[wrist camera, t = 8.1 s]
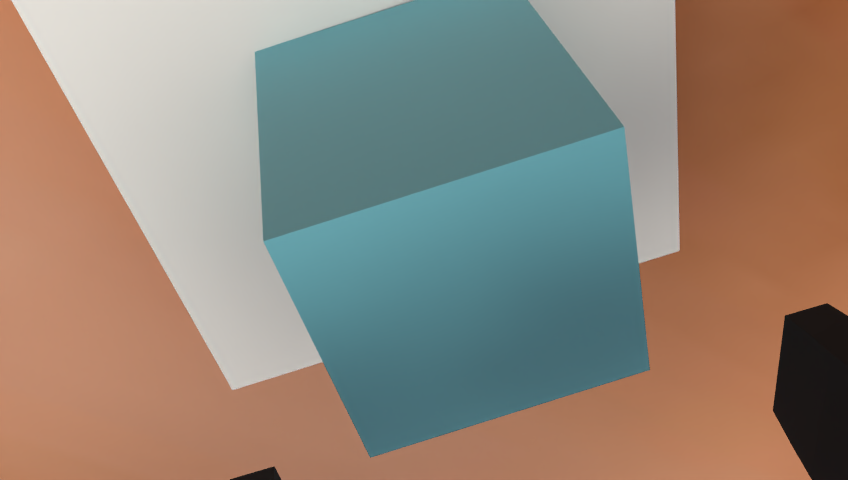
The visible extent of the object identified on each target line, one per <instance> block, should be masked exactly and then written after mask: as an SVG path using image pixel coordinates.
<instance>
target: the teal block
mask: <svg viewBox="0 0 848 480" xmlns="http://www.w3.org/2000/svg"><path fill="white" fill-rule="evenodd" d="M255 68H256V91H257V113H258V135H259V158H260V180H261V203H262V225H263V242H264V244H265V246H266V248H267V250H268V252H269V254H270V256H271V258H272V260H273V262H274V264H275V266H276V268H277V270H278V272H279V274H280V276H281V278H282V280H283V282H284V284H285V286H286V288H287V290H288V292H289V294H290V297H291V299H292V301H293V303H294V305H295V307H296V309H297V311H298V313H299V315H300V317H301V319H302V321H303V323H304V325H305V327H306V329H307V331H308V333H309V335H310V337H311V339H312V341H313V343H314V345H315V347H316V349H317V351H318V353H319V355H320V357H321V359H322V361H323V363H324V365H325V367H326V369H327V371H328V373H329V375H330V377H331V379H332V381H333V383H334V385H335V387H336V389H337V391H338V393H339V396H340V398H341V400H342V402H343V404H344V406H345V408H346V410H347V412H348V414H349V416H350V418H351V420H352V422H353V424H354V426H355V428H356V430H357V432H358V434H359V436H360V438H361V440H362V442H363V444H364V446H365V448H366V450H367V452H368V454H369V456H370V458H371V457H374V456H377V455H380V454H383V453H387V452H390V451H393V450H396V449H399V448H402V447H406V446H409V445H412V444H415V443H418V442H422V441H425V440H428V439H431V438H434V437H438V436H441V435H444V434H447V433H450V432H453V431H457V430H460V429H463V428H466V427H469V426H473V425H476V424H479V423H482V422H485V421H488V420H492V419H495V418H498V417H501V416H504V415H508V414H511V413H514V412H517V411H520V410H523V409H527V408H530V407H533V406H536V405H539V404H543V403H546V402H549V401H552V400H555V399H558V398H562V397H565V396H568V395H571V394H574V393H578V392H581V391H584V390H587V389H590V388H593V387H597V386H600V385H603V384H606V383H609V382H613V381H616V380H619V379H622V378H625V377H629V376H632V375H635V374H638V373H641V372H644V371H648V370H650V367H649V358H648V348H647V339H646V329H645V320H644V310H643V300H642V291H641V281H640V272H639V262H638V253H637V243H636V234H635V224H634V214H633V205H632V195H631V186H630V176H629V167H628V157H627V148H626V138H625V128H624V126H623V124H622V123H621V122H620V120H619V119H618V118H617V116H616V115H615V114H614V113H613V111H612V110H611V109H610V107H609V106H608V105H607V103H606V102H605V101H604V99H603V98H602V97H601V95H600V94H599V93H598V92H597V90H596V89H595V88H594V86H593V85H592V84H591V82H590V81H589V80H588V78H587V77H586V76H585V74H584V73H583V72H582V71H581V69H580V68H579V67H578V65H577V64H576V63H575V61H574V60H573V59H572V57H571V56H570V55H569V53H568V52H567V51H566V50H565V48H564V47H563V46H562V44H561V43H560V42H559V40H558V39H557V38H556V36H555V35H554V34H553V32H552V31H551V30H550V29H549V27H548V26H547V25H546V23H545V22H544V21H543V19H542V18H541V17H540V15H539V14H538V13H537V11H536V10H535V9H534V8H533V6H532V5H531V4H530V2H529V1H528V0H414V1H411V2H408V3H405V4H402V5H399V6H395V7H392V8H389V9H386V10H383V11H380V12H377V13H374V14H370V15H367V16H364V17H361V18H358V19H355V20H352V21H349V22H345V23H342V24H339V25H336V26H333V27H330V28H327V29H324V30H321V31H317V32H314V33H311V34H308V35H305V36H302V37H299V38H296V39H292V40H289V41H286V42H283V43H280V44H277V45H274V46H271V47H268V48H265V49H262V50H259V51H256V52H255Z"/></svg>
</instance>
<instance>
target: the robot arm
mask: <svg viewBox="0 0 848 480" xmlns="http://www.w3.org/2000/svg"><path fill="white" fill-rule="evenodd" d="M773 412H774V413H775V415H776V417H777V419H778V421H779V422H780V424H781V426H782V428H783V430H784V432H785V433H786V435H787V437H788V439H789V441H790V443H791V444H792V446H793V448H794V450H795V452H796V453H797V455H798V457H799V458H800V460H801V462H802V464H803V465H804V467H805V469H806V470H807V472H808V474H809V476H810V477H811V479H812V480H848V316H847V315H845V314H844V313H842V312H840V311H839V310H837V309H836V308H834V307H832V306H831V305H829V304H827V303H826V304H823V305H820V306H816V307H813V308H810V309H806V310H803V311H799V312H796V313H793V314H789V315H786V316H785V321H784V328H783V336H782V344H781V352H780V360H779V367H778V375H777V383H776V391H775V399H774V406H773ZM230 480H281V478H280V477H279V475H278V473H277V471H276V469H275V467H271V468H267V469H264V470H260V471H257V472H254V473H250V474H247V475H244V476H240V477H237V478H233V479H230Z"/></svg>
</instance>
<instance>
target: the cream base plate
mask: <svg viewBox="0 0 848 480" xmlns="http://www.w3.org/2000/svg"><path fill="white" fill-rule="evenodd" d="M411 1H414V0H12V2H13V4H14V6H15V7H16V9H17V11H18V13H19V14H20V16H21V18H22V20H23V21H24V23H25V25H26V27H27V28H28V30H29V32H30V34H31V36H32V37H33V39H34V41H35V43H36V44H37V46H38V48H39V50H40V51H41V53H42V55H43V57H44V58H45V60H46V62H47V64H48V66H49V67H50V69H51V71H52V73H53V74H54V76H55V78H56V80H57V81H58V83H59V85H60V87H61V88H62V90H63V92H64V94H65V95H66V97H67V99H68V101H69V103H70V104H71V106H72V108H73V110H74V111H75V113H76V115H77V117H78V118H79V120H80V122H81V124H82V125H83V127H84V129H85V131H86V133H87V134H88V136H89V138H90V140H91V141H92V143H93V145H94V147H95V148H96V150H97V152H98V154H99V155H100V157H101V159H102V161H103V163H104V164H105V166H106V168H107V170H108V171H109V173H110V175H111V177H112V178H113V180H114V182H115V184H116V185H117V187H118V189H119V191H120V193H121V194H122V196H123V198H124V200H125V201H126V203H127V205H128V207H129V208H130V210H131V212H132V214H133V215H134V217H135V219H136V221H137V222H138V224H139V226H140V228H141V230H142V231H143V233H144V235H145V237H146V238H147V240H148V242H149V244H150V245H151V247H152V249H153V251H154V252H155V254H156V256H157V258H158V260H159V261H160V263H161V265H162V267H163V268H164V270H165V272H166V274H167V275H168V277H169V279H170V281H171V282H172V284H173V286H174V288H175V290H176V291H177V293H178V295H179V297H180V298H181V300H182V302H183V304H184V305H185V307H186V309H187V311H188V312H189V314H190V316H191V318H192V319H193V321H194V323H195V325H196V327H197V328H198V330H199V332H200V334H201V335H202V337H203V339H204V341H205V342H206V344H207V346H208V348H209V349H210V351H211V353H212V355H213V357H214V358H215V360H216V362H217V364H218V365H219V367H220V369H221V371H222V372H223V374H224V376H225V378H226V379H227V381H228V383H229V385H230V387H231V388H232V390H235V389H238V388H241V387H244V386H248V385H251V384H254V383H257V382H260V381H264V380H267V379H270V378H273V377H276V376H280V375H283V374H286V373H289V372H292V371H296V370H299V369H302V368H305V367H308V366H312V365H315V364H318V363H321V362H323V361H322V359H321V357H320V355H319V353H318V351H317V349H316V347H315V345H314V343H313V341H312V339H311V337H310V335H309V333H308V331H307V329H306V327H305V325H304V323H303V321H302V319H301V317H300V315H299V313H298V311H297V309H296V307H295V305H294V303H293V301H292V299H291V297H290V294H289V292H288V290H287V288H286V286H285V284H284V282H283V280H282V278H281V276H280V274H279V272H278V270H277V268H276V266H275V264H274V262H273V260H272V258H271V256H270V254H269V252H268V250H267V248H266V246H265V244H264V242H263V225H262V203H261V180H260V158H259V135H258V113H257V91H256V68H255V52H256V51H259V50H262V49H265V48H268V47H271V46H274V45H277V44H280V43H283V42H286V41H289V40H292V39H296V38H299V37H302V36H305V35H308V34H311V33H314V32H317V31H321V30H324V29H327V28H330V27H333V26H336V25H339V24H342V23H345V22H349V21H352V20H355V19H358V18H361V17H364V16H367V15H370V14H374V13H377V12H380V11H383V10H386V9H389V8H392V7H395V6H399V5H402V4H405V3H408V2H411ZM528 1H529V2H530V4H531V5H532V6H533V8H534V9H535V10H536V11H537V13H538V14H539V15H540V17H541V18H542V19H543V21H544V22H545V23H546V25H547V26H548V27H549V29H550V30H551V31H552V32H553V34H554V35H555V36H556V38H557V39H558V40H559V42H560V43H561V44H562V46H563V47H564V48H565V50H566V51H567V52H568V53H569V55H570V56H571V57H572V59H573V60H574V61H575V63H576V64H577V65H578V67H579V68H580V69H581V71H582V72H583V73H584V74H585V76H586V77H587V78H588V80H589V81H590V82H591V84H592V85H593V86H594V88H595V89H596V90H597V92H598V93H599V94H600V95H601V97H602V98H603V99H604V101H605V102H606V103H607V105H608V106H609V107H610V109H611V110H612V111H613V113H614V114H615V115H616V116H617V118H618V119H619V120H620V122H621V123H622V124H623V126H624V128H625V138H626V148H627V157H628V167H629V176H630V186H631V195H632V205H633V214H634V224H635V234H636V243H637V253H638V262H639V263H642V262H645V261H648V260H652V259H655V258H658V257H661V256H664V255H668V254H671V253H674V252H677V251H680V242H679V188H678V134H677V80H676V26H675V0H528Z"/></svg>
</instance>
